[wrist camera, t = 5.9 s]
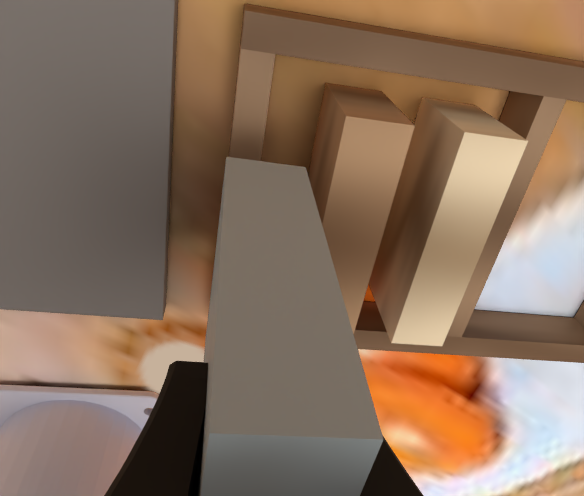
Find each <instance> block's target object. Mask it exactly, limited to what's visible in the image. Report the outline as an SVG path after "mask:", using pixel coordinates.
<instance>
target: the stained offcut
mask: <svg viewBox="0 0 584 496" xmlns="http://www.w3.org/2000/svg"><path fill="white" fill-rule="evenodd" d="M414 127H415V125H414V124H413V123H412V122H411V121H410V120H409V119H408V118H407V117H406V116H405V115H404V114H403V113H402V112H401V111H400V110H399V109H398V108H397V107H396V106H395V105H394V104H393V103H392V102H391V100H390V99H389V98H388V97H387V96H386V95H385V94H384V93H383V92H382V91H376V90H370V89H363V88H356V87H350V86H343V85H336V84H330V83H325V89H324V94H323V99H322V104H321V109H320V115H319V120H318V125H317V130H316V135H315V141H314V146H313V151H312V156H311V162H310V167H309V172H308V177H309V181H310V184H311V188H312V191H313V195H314V198H315V202H316V205H317V209H318V212H319V216H320V219H321V223H322V226H323V230H324V233H325V237H326V240H327V244H328V247H329V251H330V254H331V258H332V261H333V265H334V268H335V272H336V275H337V279H338V282H339V286H340V289H341V293H342V296H343V300H344V303H345V307H346V310H347V314H348V317H349V321H350V324H351V328H352V331H353V334H354V331H355V328H356V324H357V321H358V317H359V314H360V311H361V307H362V304H363V300H364V297H365V294H366V290H367V287H368V283H369V280H370V277H371V273H372V270H373V267H374V263H375V260H376V256H377V253H378V250H379V246H380V243H381V239H382V236H383V233H384V229H385V226H386V222H387V219H388V216H389V212H390V209H391V205H392V202H393V199H394V195H395V192H396V188H397V185H398V182H399V178H400V175H401V171H402V168H403V165H404V161H405V158H406V154H407V151H408V148H409V144H410V141H411V137H412V134H413V131H414Z"/></svg>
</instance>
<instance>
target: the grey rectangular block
mask: <svg viewBox="0 0 584 496" xmlns="http://www.w3.org/2000/svg"><path fill="white" fill-rule="evenodd" d="M204 363H208V379H207V396H206V407H205V415H204V423H203V431H202V439H201V447H200V455H199V463H198V471H197V479H196V487H195V496H360V494H361V492H362V489H363V487H364V485H365V482H366V480H367V477H368V475H369V473H370V470H371V468H372V466H373V463H374V461H375V458H376V456H377V454H378V451H379V449H380V447H381V444H382V442H383V436H382V433H381V429H380V426H379V422H378V419H377V415H376V412H375V408H374V405H373V401H372V398H371V394H370V391H369V387H368V384H367V380H366V377H365V373H364V370H363V366H362V363H361V359H360V356H359V352H358V349H357V345H356V342H355V338H354V335H353V331H352V328H351V324H350V321H349V317H348V314H347V310H346V307H345V303H344V300H343V296H342V293H341V289H340V286H339V282H338V279H337V275H336V272H335V268H334V265H333V261H332V258H331V254H330V251H329V247H328V244H327V240H326V237H325V233H324V230H323V226H322V223H321V219H320V216H319V212H318V209H317V205H316V202H315V198H314V195H313V191H312V188H311V184H310V181H309V177H308V174H307V170H306V167H301V166H294V165H286V164H278V163H271V162H263V161H256V160H248V159H241V158H233V157H226V164H225V172H224V181H223V190H222V199H221V208H220V217H219V225H218V234H217V243H216V252H215V261H214V270H213V278H212V287H211V296H210V305H209V314H208V322H207V331H206V341H205V353H204Z"/></svg>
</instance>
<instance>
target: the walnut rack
mask: <svg viewBox="0 0 584 496" xmlns="http://www.w3.org/2000/svg"><path fill="white" fill-rule="evenodd" d="M275 54H278V55H284V56H291V57H297V58H303V59H310V60H316V61H323V62H329V63H335V64H342V65H348V66H354V67H361V68H367V69H374V70H380V71H386V72H393V73H399V74H405V75H412V76H418V77H425V78H431V79H437V80H444V81H450V82H457V83H463V84H469V85H476V86H482V87H488V88H495V89H501V90H508V91H510V93H509V96H508V99H507V101H506V104H505V107H504V109H503V112H502V114H501V117H500V120H499V122H501V123H502V124H504V125H505V126H507V127H508V128H510V129H511V130H513V131H514V132H516V133H517V134H519V135H520V136H522V137H523V138H525V139H526V140H527V141H528V143H527V145H526V148H525V150H524V152H523V155H522V157H521V160H520V162H519V164H518V167H517V169H516V172H515V174H514V176H513V179H512V181H511V183H510V186H509V188H508V191H507V193H506V195H505V198H504V200H503V203H502V205H501V207H500V210H499V212H498V214H497V217H496V219H495V222H494V224H493V226H492V229H491V231H490V234H489V236H488V238H487V241H486V243H485V245H484V248H483V250H482V253H481V255H480V257H479V260H478V262H477V265H476V267H475V269H474V272H473V274H472V276H471V279H470V281H469V284H468V286H467V288H466V291H465V293H464V296H463V298H462V300H461V303H460V305H459V307H458V310H457V312H456V315H455V317H454V319H453V322H452V324H451V327H450V329H449V331H448V334H447V336H446V338H445V341H444V343H443V346H429V345H413V344H398V343H391V341H390V338H389V336H388V333H387V331H386V328H385V325H384V323H383V320H382V317H381V315H380V312H379V310H378V307H377V304H376V302H366V301H363V304H362V307H361V311H360V314H359V317H358V321H357V324H356V328H355V331H354V334H353V335H354V338H355V342H356V345H357V349H369V350H385V351H401V352H417V353H434V354H450V355H466V356H482V357H498V358H514V359H530V360H546V361H563V362H579V363H584V301H583V303H582V305H581V306H580V308H579V310H578V312H577V313H576V315H575V317H574V318H571V317H558V316H545V315H533V314H520V313H507V312H494V311H481V310H474V308H475V306H476V304H477V301H478V299H479V297H480V295H481V292H482V290H483V288H484V286H485V283H486V281H487V279H488V276H489V274H490V272H491V270H492V267H493V265H494V263H495V261H496V258H497V256H498V254H499V252H500V249H501V247H502V245H503V242H504V240H505V238H506V236H507V233H508V231H509V229H510V227H511V224H512V222H513V220H514V217H515V215H516V213H517V211H518V208H519V206H520V204H521V202H522V199H523V197H524V195H525V193H526V190H527V188H528V186H529V183H530V181H531V179H532V177H533V174H534V172H535V170H536V168H537V165H538V163H539V161H540V159H541V156H542V154H543V152H544V149H545V147H546V145H547V143H548V140H549V138H550V136H551V134H552V131H553V129H554V127H555V125H556V122H557V120H558V118H559V115H560V113H561V111H562V109H563V106H564V104H565V102H566V100H571V101H578V102H584V62H583V61H577V60H571V59H565V58H560V57H554V56H548V55H542V54H536V53H530V52H525V51H519V50H513V49H507V48H501V47H495V46H490V45H484V44H478V43H472V42H466V41H460V40H455V39H449V38H443V37H437V36H431V35H426V34H420V33H414V32H408V31H402V30H396V29H391V28H385V27H379V26H373V25H367V24H361V23H356V22H350V21H344V20H338V19H332V18H326V17H321V16H315V15H309V14H303V13H297V12H291V11H286V10H280V9H274V8H268V7H262V6H256V5H251V4H245V3H244V12H243V22H242V31H241V41H240V51H239V61H238V71H237V80H236V90H235V100H234V110H233V119H232V129H231V139H230V149H229V157H233V158H241V159H248V160H256V161H261V156H262V148H263V141H264V134H265V127H266V119H267V112H268V105H269V98H270V90H271V83H272V76H273V68H274V61H275Z"/></svg>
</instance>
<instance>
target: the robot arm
mask: <svg viewBox="0 0 584 496" xmlns="http://www.w3.org/2000/svg"><path fill="white" fill-rule="evenodd" d="M207 379H208V363H203V362H187V361H175V362H174V363H172V364H170V366H169V369H168V373H167V376H166V379H165V382H164V384H163V387H162V389H161V392H160V394H158V393H156V392H152V391H133V390H111V389H88V388H66V387H44V386H21V385H0V496H195V487H196V479H197V471H198V463H199V455H200V447H201V439H202V431H203V423H204V415H205V407H206V396H207ZM148 408H152V409H148ZM382 436H383V435H382ZM360 496H423V494H422V493H421V492H420V490H419V489H418V487H417V486H416V485H415V483H414V482H413V480H412V479H411V477H410V476H409V474H408V473H407V471H406V470H405V469H404V467H403V466H402V464H401V463H400V461H399V460H398V458H397V457H396V455H395V454H394V452H393V451H392V449H391V448H390V446H389V445H388V443H387V442H386V440H385V438H384V437H383V442H382V444H381V447H380V449H379V451H378V454H377V456H376V458H375V461H374V463H373V466H372V468H371V470H370V473H369V475H368V477H367V480H366V482H365V485H364V487H363V489H362V492H361V494H360Z"/></svg>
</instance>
